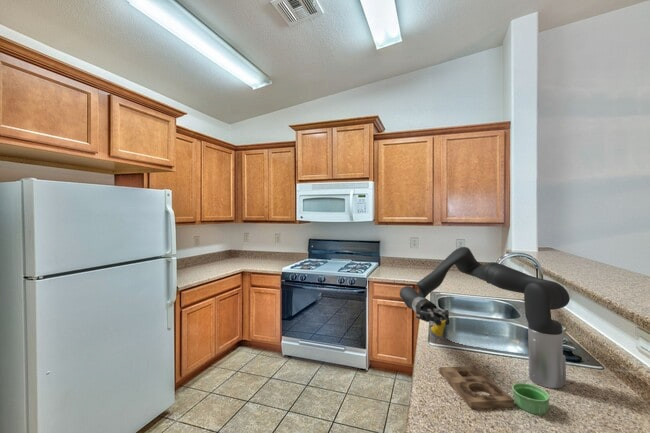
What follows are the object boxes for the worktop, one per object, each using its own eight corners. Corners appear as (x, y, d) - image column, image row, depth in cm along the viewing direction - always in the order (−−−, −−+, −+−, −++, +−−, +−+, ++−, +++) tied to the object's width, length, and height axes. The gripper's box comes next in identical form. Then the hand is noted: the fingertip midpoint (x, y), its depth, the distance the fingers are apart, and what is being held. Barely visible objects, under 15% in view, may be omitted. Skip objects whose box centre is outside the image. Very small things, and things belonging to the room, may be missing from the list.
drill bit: (432, 333, 113) (447, 315, 109) (439, 345, 108) (455, 326, 105) (421, 331, 111) (436, 312, 107) (428, 343, 106) (444, 324, 103)
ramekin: (531, 418, 81) (530, 402, 81) (505, 399, 90) (504, 384, 90) (558, 414, 82) (558, 398, 83) (530, 395, 91) (529, 381, 91)
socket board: (474, 371, 106) (474, 365, 106) (514, 406, 86) (514, 399, 86) (439, 372, 105) (439, 367, 105) (471, 409, 85) (471, 402, 85)
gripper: (440, 316, 123) (462, 332, 106) (407, 317, 122) (424, 333, 105) (440, 298, 123) (462, 311, 106) (407, 299, 122) (424, 312, 105)
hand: (443, 322), depth 106 cm, fingers closed on drill bit, 2 cm apart
